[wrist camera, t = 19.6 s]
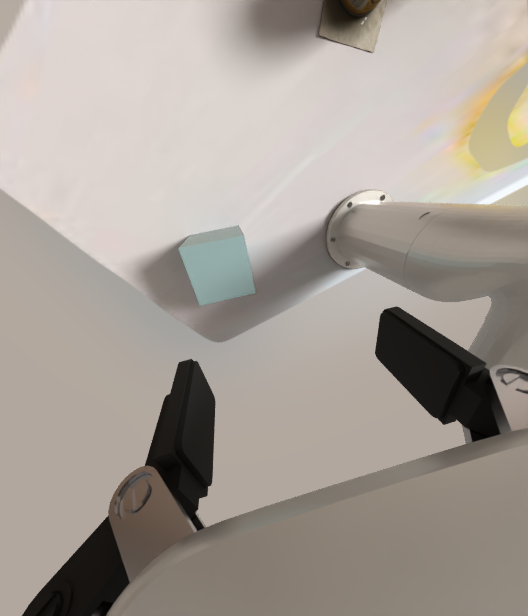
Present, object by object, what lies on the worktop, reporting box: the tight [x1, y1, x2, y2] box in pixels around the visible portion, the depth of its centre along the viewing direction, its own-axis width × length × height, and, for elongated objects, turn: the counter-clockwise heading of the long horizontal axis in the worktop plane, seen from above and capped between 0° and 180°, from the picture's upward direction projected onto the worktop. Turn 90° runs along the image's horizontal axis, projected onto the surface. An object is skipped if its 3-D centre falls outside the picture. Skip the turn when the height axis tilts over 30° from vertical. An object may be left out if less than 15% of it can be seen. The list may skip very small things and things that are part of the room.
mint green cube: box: [178, 226, 256, 306], centre depth 29 cm, size 8×8×9 cm
